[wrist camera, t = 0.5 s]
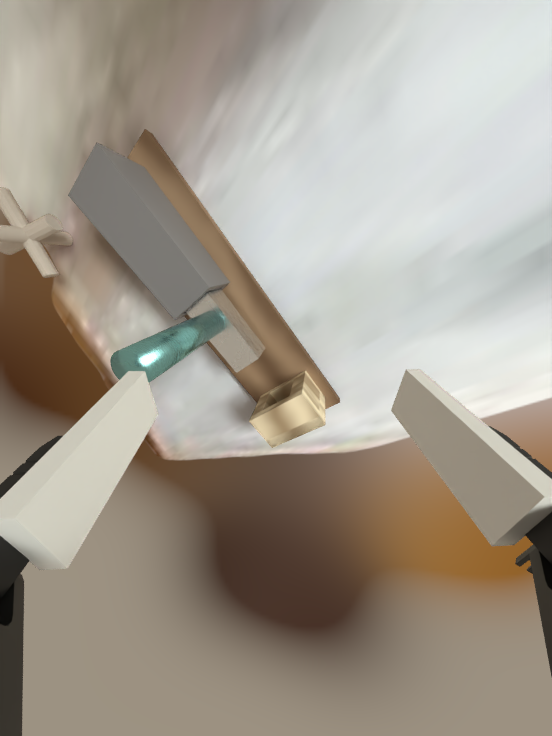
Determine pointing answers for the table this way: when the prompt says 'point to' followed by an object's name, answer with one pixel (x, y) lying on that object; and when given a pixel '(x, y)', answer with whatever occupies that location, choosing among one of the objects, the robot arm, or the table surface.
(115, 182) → the outer sleeve
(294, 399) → the socket block
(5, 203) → the pipe connector
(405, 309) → the table surface
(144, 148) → the base board
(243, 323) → the bar with teal cylinder
